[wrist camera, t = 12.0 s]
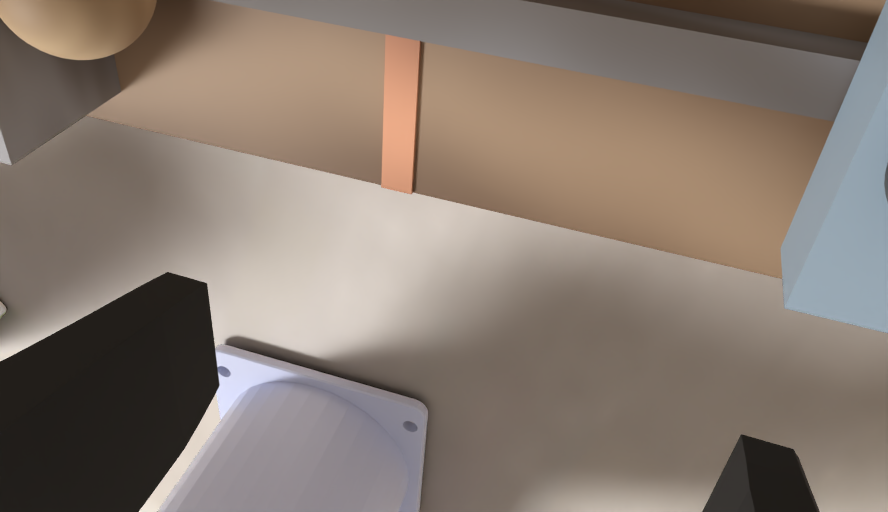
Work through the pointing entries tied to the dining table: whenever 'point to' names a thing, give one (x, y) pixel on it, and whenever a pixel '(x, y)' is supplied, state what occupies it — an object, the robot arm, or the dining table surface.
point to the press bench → (474, 100)
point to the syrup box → (2, 309)
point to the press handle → (847, 207)
